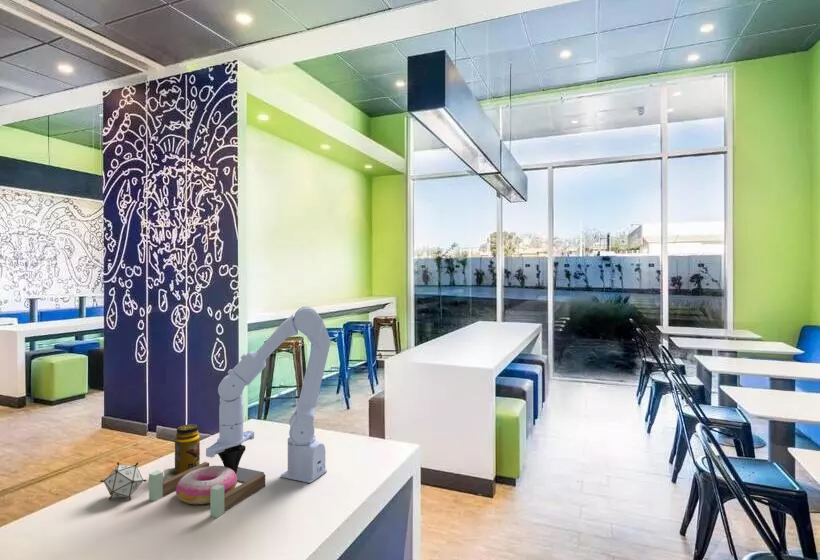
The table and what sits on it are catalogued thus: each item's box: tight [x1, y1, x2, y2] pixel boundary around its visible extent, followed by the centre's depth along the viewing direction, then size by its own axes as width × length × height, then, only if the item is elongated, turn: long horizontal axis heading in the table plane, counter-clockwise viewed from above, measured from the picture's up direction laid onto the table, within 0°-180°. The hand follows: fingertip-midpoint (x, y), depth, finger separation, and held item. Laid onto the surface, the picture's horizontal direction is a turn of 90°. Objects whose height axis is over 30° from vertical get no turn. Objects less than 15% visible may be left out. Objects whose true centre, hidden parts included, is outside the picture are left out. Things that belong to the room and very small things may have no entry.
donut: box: [175, 465, 238, 505], centre depth 110 cm, size 14×13×5 cm
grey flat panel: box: [236, 466, 265, 484], centre depth 121 cm, size 9×6×1 cm
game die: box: [99, 461, 148, 501], centre depth 109 cm, size 9×8×10 cm
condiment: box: [164, 423, 201, 480], centre depth 123 cm, size 7×8×12 cm
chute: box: [148, 461, 266, 518], centre depth 111 cm, size 21×16×6 cm
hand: (231, 475), depth 117 cm, fingers closed
